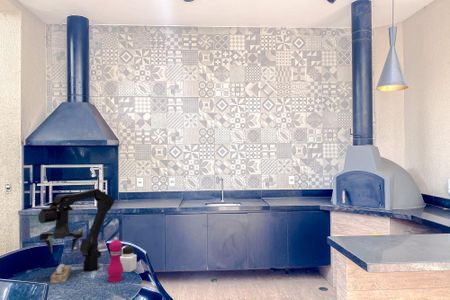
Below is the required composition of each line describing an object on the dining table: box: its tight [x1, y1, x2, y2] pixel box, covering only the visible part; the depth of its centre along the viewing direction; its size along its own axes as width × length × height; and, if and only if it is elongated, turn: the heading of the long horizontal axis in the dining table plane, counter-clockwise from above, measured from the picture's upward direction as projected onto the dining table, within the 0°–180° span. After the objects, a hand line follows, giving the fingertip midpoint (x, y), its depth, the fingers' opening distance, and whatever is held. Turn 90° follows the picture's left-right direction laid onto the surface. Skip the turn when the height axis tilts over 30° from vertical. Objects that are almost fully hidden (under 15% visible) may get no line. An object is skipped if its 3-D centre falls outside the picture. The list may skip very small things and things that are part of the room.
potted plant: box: [120, 245, 138, 273], centre depth 179 cm, size 7×7×12 cm
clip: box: [56, 263, 66, 275], centre depth 164 cm, size 2×7×6 cm, turn 15°
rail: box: [50, 265, 72, 284], centre depth 167 cm, size 6×17×3 cm, turn 15°
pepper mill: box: [106, 236, 123, 283], centre depth 163 cm, size 7×7×20 cm
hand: (61, 252), depth 167 cm, fingers open, 9 cm apart
